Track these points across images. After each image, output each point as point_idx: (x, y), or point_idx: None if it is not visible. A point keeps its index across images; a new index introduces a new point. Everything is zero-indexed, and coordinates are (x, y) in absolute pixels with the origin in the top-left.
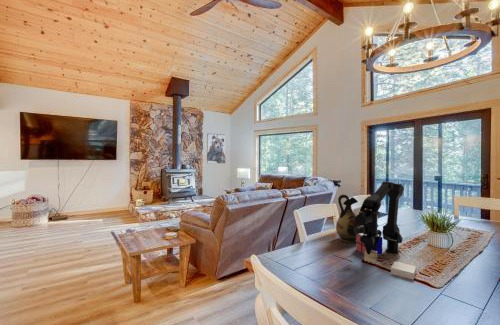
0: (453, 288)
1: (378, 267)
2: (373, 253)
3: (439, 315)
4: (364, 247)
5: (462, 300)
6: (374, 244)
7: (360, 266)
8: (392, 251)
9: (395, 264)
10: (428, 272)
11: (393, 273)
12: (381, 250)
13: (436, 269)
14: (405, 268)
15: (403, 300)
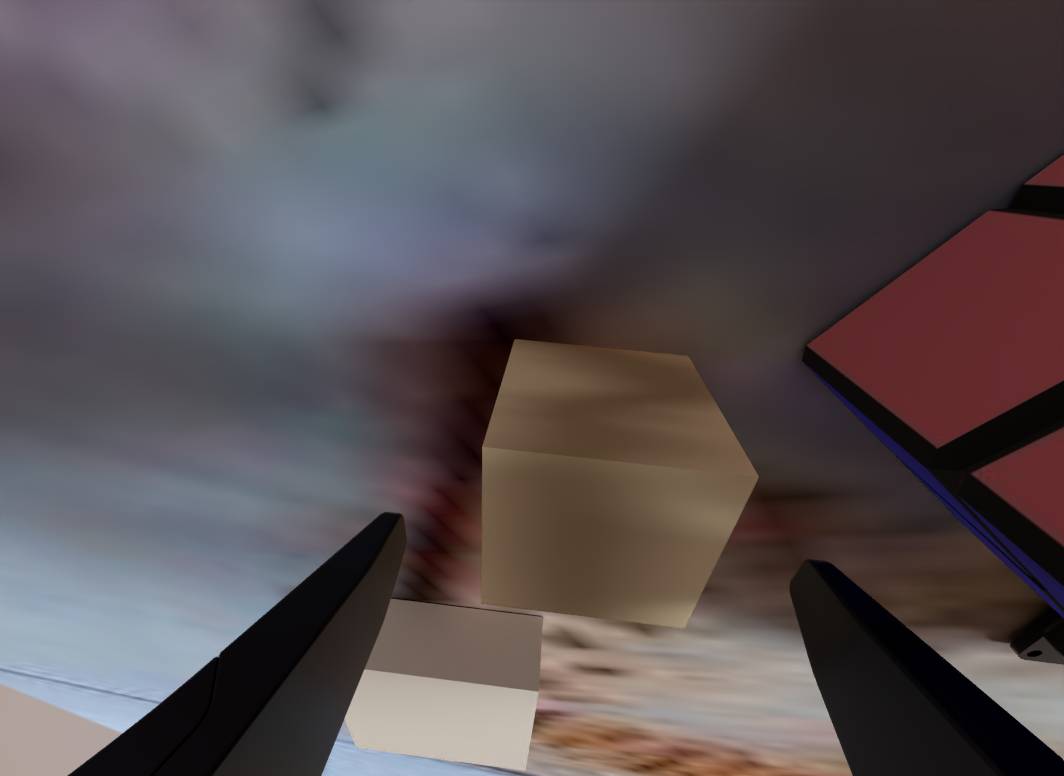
0: (432, 770)
1: (417, 510)
2: (512, 589)
3: (93, 709)
4: (1058, 345)
5: (328, 768)
6: (879, 759)
7: (249, 327)
8: (1062, 637)
9: (442, 689)
10: (587, 739)
11: None
12: (1017, 574)
13: (675, 767)
14: (409, 727)
15: (37, 633)
